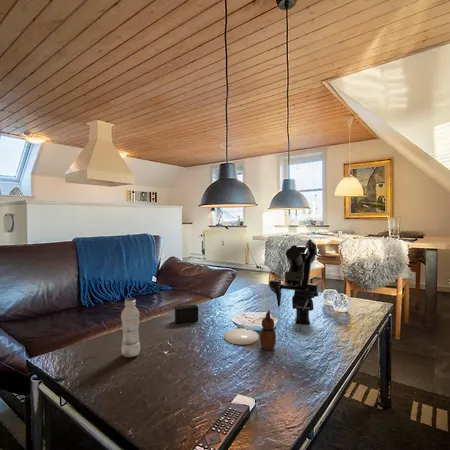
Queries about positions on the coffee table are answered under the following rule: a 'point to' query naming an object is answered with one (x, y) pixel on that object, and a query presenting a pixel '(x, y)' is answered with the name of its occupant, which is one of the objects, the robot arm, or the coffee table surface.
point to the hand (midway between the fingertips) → (290, 308)
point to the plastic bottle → (130, 329)
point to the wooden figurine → (267, 333)
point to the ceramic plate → (241, 336)
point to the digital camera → (186, 314)
